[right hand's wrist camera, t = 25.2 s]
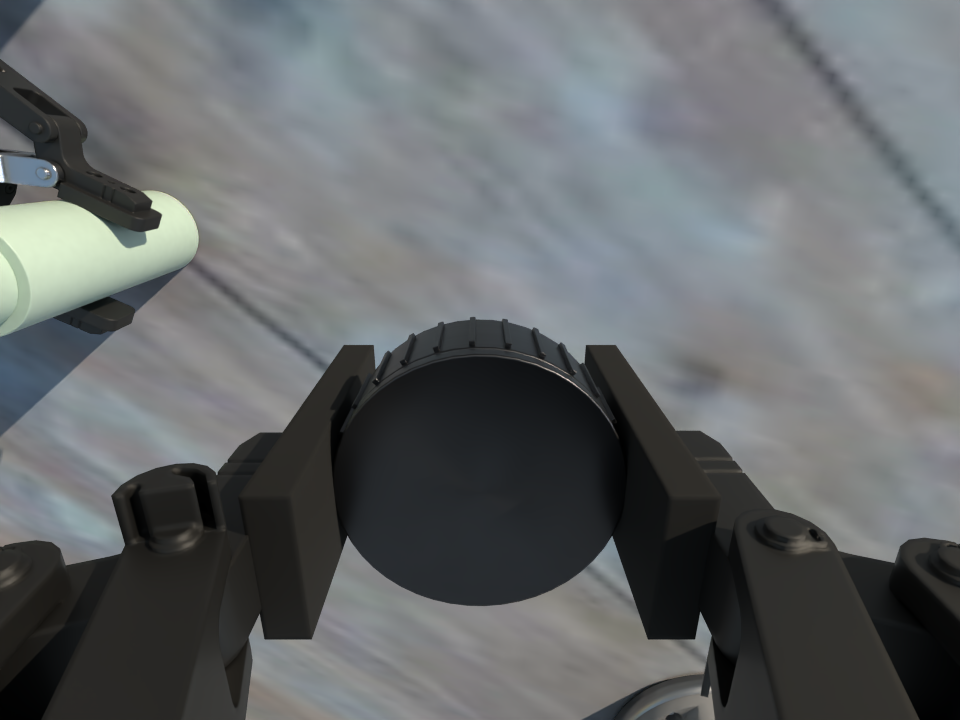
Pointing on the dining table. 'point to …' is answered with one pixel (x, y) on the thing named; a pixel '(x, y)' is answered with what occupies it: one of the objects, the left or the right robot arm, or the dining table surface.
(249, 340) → the dining table surface
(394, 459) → the lid
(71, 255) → the jar
